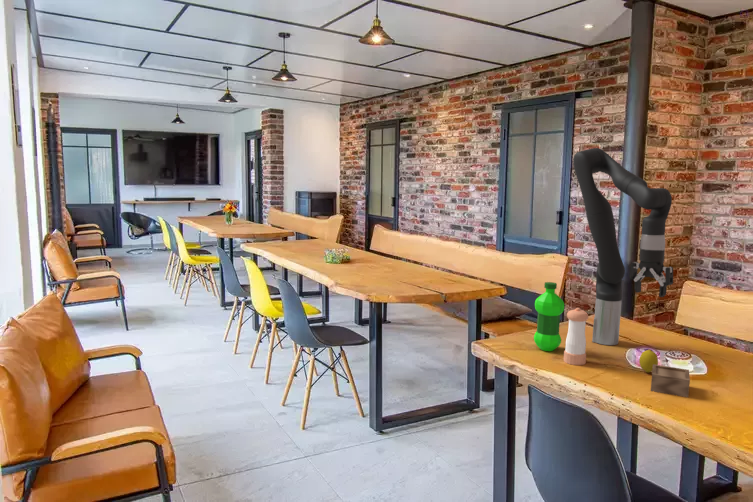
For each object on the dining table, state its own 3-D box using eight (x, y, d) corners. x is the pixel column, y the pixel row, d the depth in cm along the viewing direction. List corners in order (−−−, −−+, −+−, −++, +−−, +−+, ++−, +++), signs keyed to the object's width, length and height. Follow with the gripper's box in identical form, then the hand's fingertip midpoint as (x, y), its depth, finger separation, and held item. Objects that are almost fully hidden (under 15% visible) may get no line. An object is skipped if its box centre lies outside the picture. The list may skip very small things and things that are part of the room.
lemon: (656, 371, 186) (658, 348, 184) (657, 376, 181) (659, 353, 179) (638, 368, 188) (640, 345, 187) (638, 374, 183) (640, 350, 182)
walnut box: (650, 391, 169) (652, 374, 168) (651, 381, 178) (652, 364, 177) (688, 398, 164) (689, 380, 163) (687, 387, 173) (688, 369, 172)
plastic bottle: (534, 343, 215) (538, 279, 211) (563, 347, 210) (567, 282, 207) (530, 350, 206) (533, 284, 202) (559, 354, 201) (564, 287, 198)
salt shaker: (565, 357, 199) (568, 304, 196) (586, 360, 196) (590, 307, 193) (562, 363, 192) (565, 309, 190) (584, 366, 189) (588, 311, 187)
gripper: (626, 246, 192) (624, 292, 194) (666, 251, 180) (663, 299, 182) (639, 244, 196) (636, 289, 198) (679, 248, 184) (676, 296, 186)
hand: (649, 294), depth 190 cm, fingers open, 8 cm apart
